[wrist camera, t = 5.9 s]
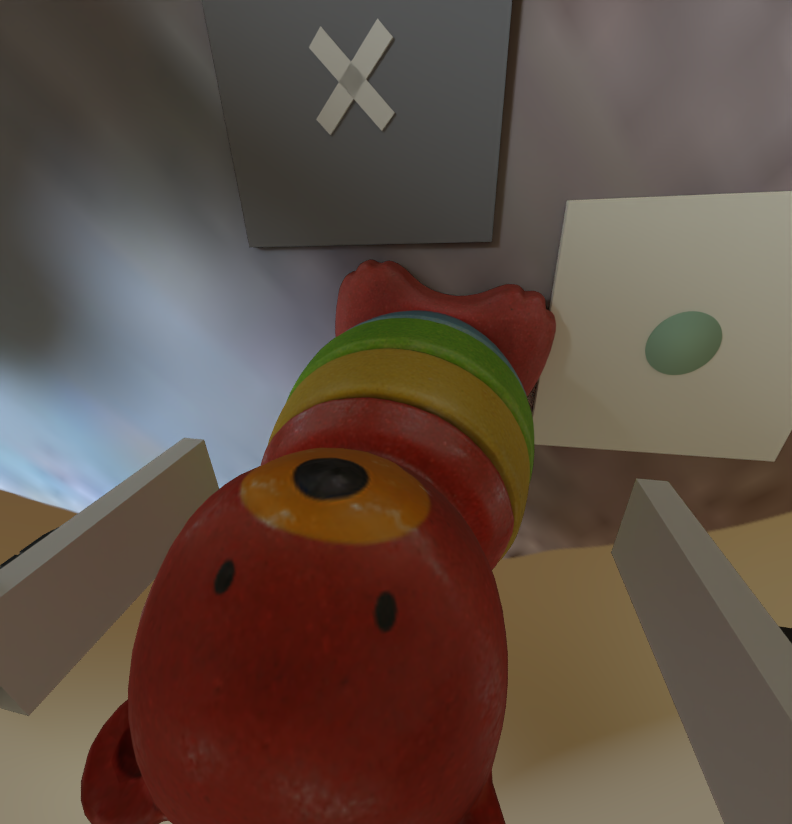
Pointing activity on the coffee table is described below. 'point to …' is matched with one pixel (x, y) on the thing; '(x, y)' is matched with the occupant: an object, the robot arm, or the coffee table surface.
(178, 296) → the coffee table surface
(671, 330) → the pad
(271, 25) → the pad
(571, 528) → the coffee table surface
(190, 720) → the stacking bear
